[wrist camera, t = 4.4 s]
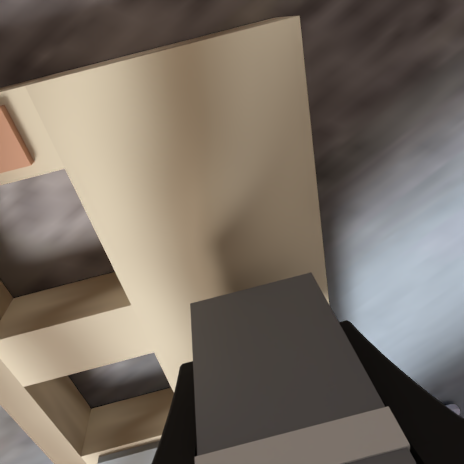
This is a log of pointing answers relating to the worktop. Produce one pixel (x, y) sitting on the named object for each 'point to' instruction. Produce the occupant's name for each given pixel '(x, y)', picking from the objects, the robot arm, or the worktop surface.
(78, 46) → the worktop surface
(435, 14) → the worktop surface
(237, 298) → the plug
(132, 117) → the socket board
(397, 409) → the robot arm
